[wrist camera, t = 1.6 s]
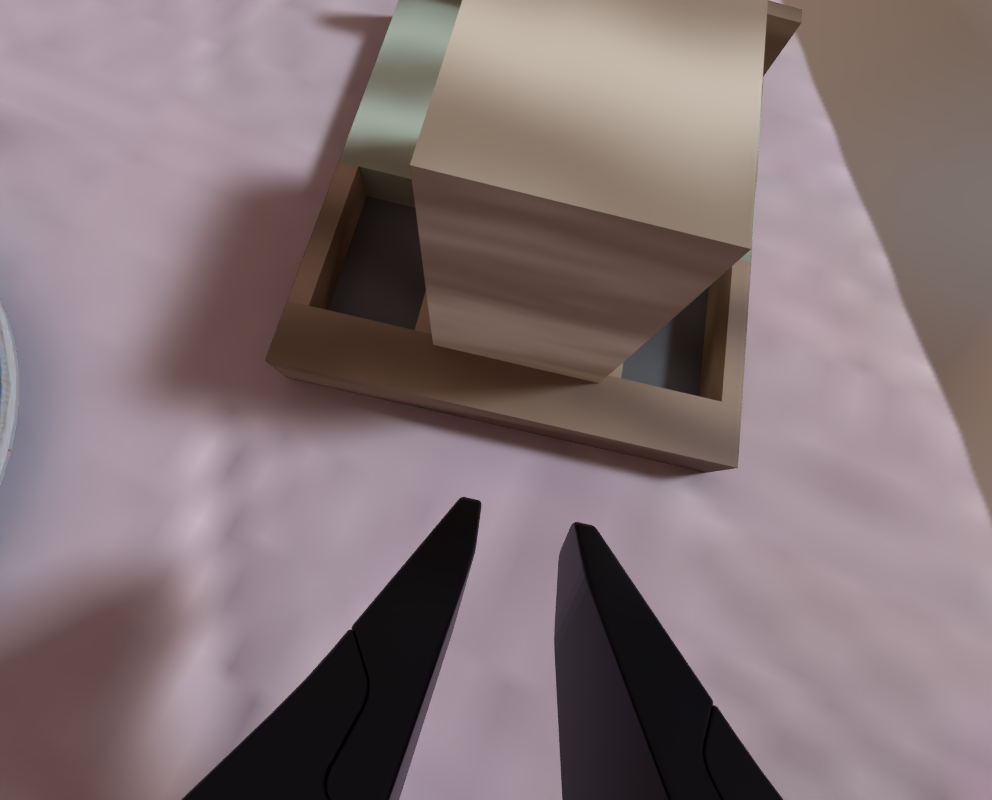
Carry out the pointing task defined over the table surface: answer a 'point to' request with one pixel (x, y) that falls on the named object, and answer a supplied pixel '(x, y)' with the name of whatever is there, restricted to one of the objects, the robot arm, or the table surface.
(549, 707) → the table surface
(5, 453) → the ceramic plate
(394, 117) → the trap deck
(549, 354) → the birch block
